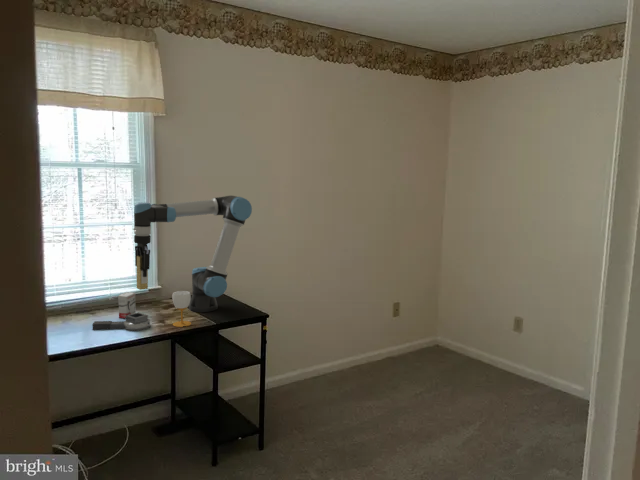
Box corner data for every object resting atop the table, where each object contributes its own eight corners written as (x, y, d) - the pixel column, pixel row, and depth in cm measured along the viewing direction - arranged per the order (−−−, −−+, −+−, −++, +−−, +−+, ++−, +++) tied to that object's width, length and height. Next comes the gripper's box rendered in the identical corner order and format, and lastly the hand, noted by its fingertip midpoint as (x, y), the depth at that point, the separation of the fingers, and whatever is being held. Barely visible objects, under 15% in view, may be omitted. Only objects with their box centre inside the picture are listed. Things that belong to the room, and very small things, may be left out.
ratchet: (151, 323, 268) (151, 311, 267) (147, 330, 257) (147, 318, 256) (96, 324, 264) (96, 312, 263) (90, 332, 253) (90, 320, 252)
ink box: (127, 318, 274) (126, 296, 272) (118, 318, 275) (117, 295, 273) (136, 314, 283) (135, 292, 281) (127, 313, 283) (127, 291, 282)
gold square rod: (144, 287, 265) (144, 255, 263) (147, 288, 262) (148, 256, 260) (136, 288, 263) (136, 255, 260) (139, 289, 260) (139, 257, 257)
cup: (191, 321, 273) (191, 290, 270) (190, 326, 264) (190, 295, 262) (173, 321, 271) (172, 290, 269) (171, 327, 263) (171, 295, 260)
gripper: (128, 232, 263) (128, 279, 266) (141, 237, 250) (141, 286, 253) (143, 232, 267) (142, 278, 271) (157, 236, 255) (156, 285, 258)
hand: (142, 282), depth 262 cm, fingers closed on gold square rod, 4 cm apart
